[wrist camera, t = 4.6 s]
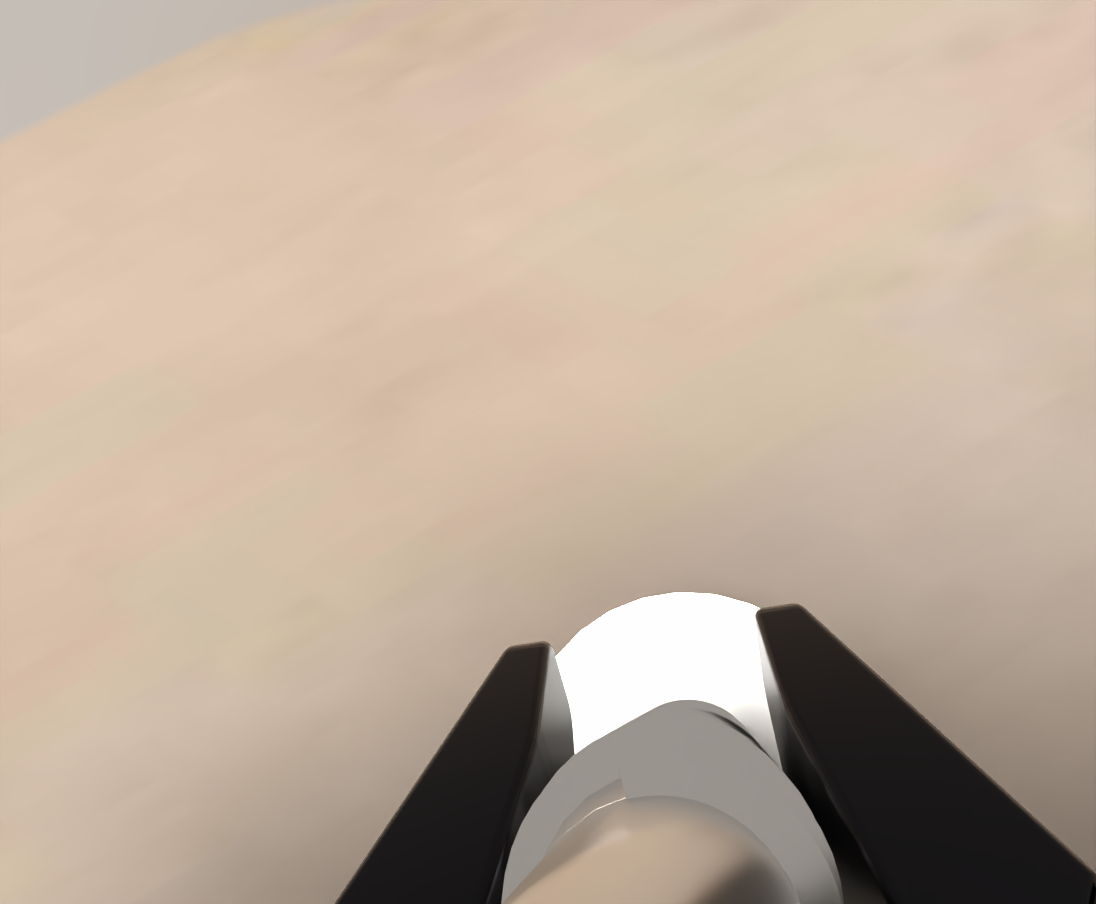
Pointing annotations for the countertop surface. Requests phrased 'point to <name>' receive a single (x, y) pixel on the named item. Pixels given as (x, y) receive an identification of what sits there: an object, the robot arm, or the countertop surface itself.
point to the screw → (670, 772)
